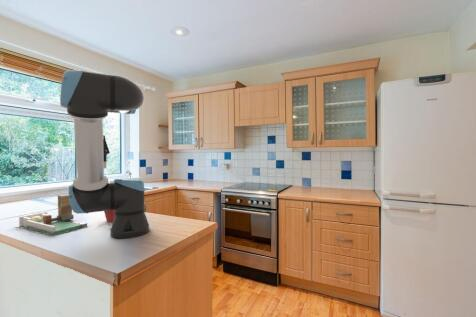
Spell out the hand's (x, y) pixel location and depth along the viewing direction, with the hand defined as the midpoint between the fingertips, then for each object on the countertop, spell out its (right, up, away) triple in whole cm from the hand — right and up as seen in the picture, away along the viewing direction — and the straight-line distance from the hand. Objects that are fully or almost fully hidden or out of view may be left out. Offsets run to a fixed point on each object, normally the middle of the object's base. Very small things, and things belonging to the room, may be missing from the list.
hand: (94, 168), depth 120 cm
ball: (-25, -25, -5) cm, 36 cm away
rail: (-9, -27, -5) cm, 29 cm away
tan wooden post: (-14, -25, -6) cm, 29 cm away
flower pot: (+10, -27, +1) cm, 29 cm away
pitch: (-15, -27, -10) cm, 32 cm away
